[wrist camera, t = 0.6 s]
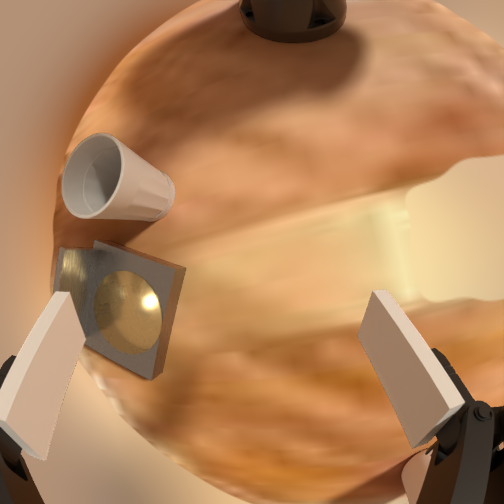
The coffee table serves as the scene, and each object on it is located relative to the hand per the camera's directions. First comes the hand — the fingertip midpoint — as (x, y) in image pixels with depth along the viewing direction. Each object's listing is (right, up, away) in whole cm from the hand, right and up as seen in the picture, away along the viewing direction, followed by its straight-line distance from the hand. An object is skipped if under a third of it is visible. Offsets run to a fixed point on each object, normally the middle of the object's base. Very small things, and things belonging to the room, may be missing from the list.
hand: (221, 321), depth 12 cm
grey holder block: (-14, -4, +23) cm, 27 cm away
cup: (-11, +10, +23) cm, 27 cm away
